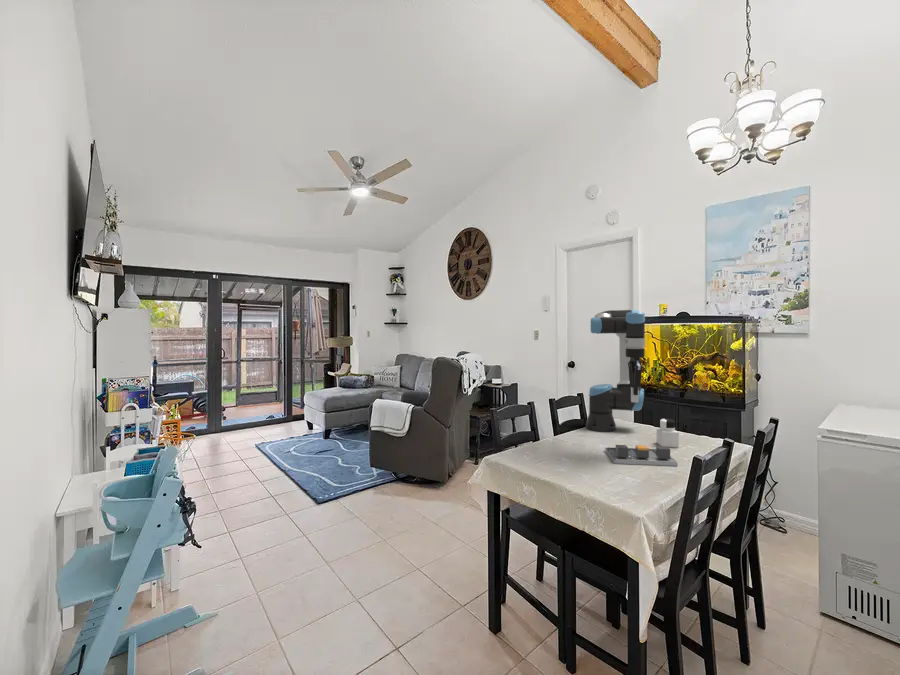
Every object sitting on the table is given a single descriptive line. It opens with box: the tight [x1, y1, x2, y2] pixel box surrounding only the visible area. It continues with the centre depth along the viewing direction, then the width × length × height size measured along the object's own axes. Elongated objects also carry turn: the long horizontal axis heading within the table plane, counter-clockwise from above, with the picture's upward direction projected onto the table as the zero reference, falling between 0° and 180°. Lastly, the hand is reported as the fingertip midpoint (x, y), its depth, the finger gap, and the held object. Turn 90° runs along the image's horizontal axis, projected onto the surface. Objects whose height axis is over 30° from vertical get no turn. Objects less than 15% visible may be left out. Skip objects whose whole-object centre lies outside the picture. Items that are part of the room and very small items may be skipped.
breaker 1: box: [615, 444, 629, 458], centre depth 168 cm, size 4×4×4 cm
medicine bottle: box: [655, 418, 680, 448], centre depth 188 cm, size 7×7×12 cm
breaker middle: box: [635, 444, 650, 458], centre depth 167 cm, size 4×4×4 cm
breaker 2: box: [655, 445, 671, 459], centre depth 166 cm, size 4×4×4 cm
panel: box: [604, 447, 679, 467], centre depth 171 cm, size 16×24×2 cm, turn 81°
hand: (634, 401), depth 177 cm, fingers closed
